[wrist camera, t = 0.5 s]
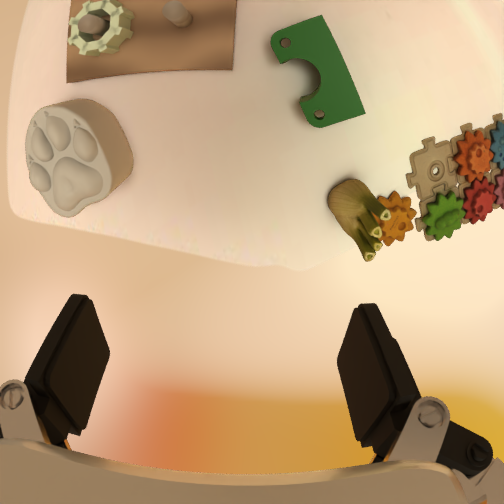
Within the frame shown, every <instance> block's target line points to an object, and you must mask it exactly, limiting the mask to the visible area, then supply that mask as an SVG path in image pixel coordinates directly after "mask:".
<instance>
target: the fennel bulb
mask: <svg viewBox="0 0 504 504" xmlns="http://www.w3.org/2000/svg"><path fill="white" fill-rule="evenodd" d="M328 206H329V208H330V210H331V211H332V213H333V214H334V215H335V217H336V219H337V221H338V223H339V224H340V225H341V227H342V228H343V230H344V231H345V232H346V233H347V234H348V235H349V236H350V237H351V238H353V239H354V241H355V242H356V244H357V245H358V247H359V249H360V251H361V253H362V256H363V258H364V260H365V261H367V262H368V261H371V260H373V258H374V256H375V255H376V252H375V251H379V250H380V248H381V247H382V246H383V244H382V243H381V242H380V240H379V239H378V238H381V236H382V231H381V228H380V226H379V224H378V222H377V221H376V219H375V217H374V216H373V214H372V212H373V213H374V214H375V215H376V216H377V217H378V218H379V219H381V220H385V221H386V220H387V221H389V219H391V213H390V211H389V209H387V208H386V207H385V206H384V205H383V204H382V203H381V202H380V201H378V200H377V199H376V198H375V196H374V195H373V194H372V193H371V192H370V190H369V189H368V187H367V186H366V185H365V184H364V183H363V182H361V181H360V180H357V179H355V180H347V181H345V182H344V183H341V184H340V185H338V186H336V187H335V188H334V189H333V190H332V191H331V192H330V195H329V198H328Z"/></svg>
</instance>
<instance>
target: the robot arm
mask: <svg viewBox="0 0 504 504" xmlns="http://www.w3.org/2000/svg"><path fill="white" fill-rule="evenodd" d="M109 356H110V350H109V347H108V344H107V341H106V339H105V336H104V333H103V330H102V328H101V325H100V322H99V319H98V316H97V313H96V310H95V307H94V304H93V301H92V300H90V299H89V298H88V296H87V295H80V294H72V295H71V296H70V297H69V299H68V301H67V302H66V304H65V306H64V307H63V309H62V311H61V312H60V314H59V316H58V317H57V319H56V321H55V322H54V324H53V326H52V328H51V330H50V331H49V333H48V335H47V337H46V338H45V340H44V342H43V344H42V346H41V347H40V349H39V351H38V353H37V355H36V357H35V359H34V361H33V363H32V365H31V367H30V369H29V371H28V373H27V375H26V377H25V380H24V382H21V381H19V380H9V381H7V382H5V383H4V384H2V385H1V387H0V504H504V463H503V462H502V461H501V460H500V459H499V458H496V459H494V458H493V450H492V447H491V445H490V443H489V442H488V441H487V440H486V439H485V438H483V437H481V436H479V435H477V434H475V433H473V432H472V431H470V430H468V429H465V428H464V427H462V426H460V425H458V424H456V423H454V422H452V421H450V413H449V410H448V408H447V406H446V405H445V404H444V403H443V402H442V401H441V400H439V399H438V398H435V397H427V396H426V397H423V398H422V397H421V395H420V393H419V391H418V388H417V386H416V383H415V381H414V378H413V376H412V374H411V371H410V369H409V367H408V364H407V362H406V360H405V358H404V355H403V353H402V351H401V349H400V347H399V344H398V342H397V341H396V339H394V338H392V336H391V333H390V331H389V329H388V327H387V325H386V323H385V321H384V319H383V317H382V315H381V312H380V310H379V308H378V306H377V305H376V304H375V303H369V304H360V305H359V306H358V308H355V309H354V311H353V313H352V316H351V319H350V323H349V325H348V328H347V331H346V334H345V337H344V340H343V343H342V346H341V349H340V351H339V355H338V358H337V366H338V370H339V374H340V377H341V381H342V385H343V389H344V393H345V397H346V401H347V405H348V409H349V413H350V417H351V421H352V425H353V430H354V433H355V438H356V440H357V441H360V442H361V446H362V448H363V447H369V446H372V447H373V451H374V453H375V454H374V456H373V458H372V460H371V461H370V463H369V464H366V465H359V466H353V467H346V468H338V469H330V470H320V471H311V472H299V473H285V474H248V475H247V474H246V475H245V474H212V473H198V472H186V471H176V470H168V469H160V468H153V467H146V466H140V465H134V464H129V463H123V462H118V461H113V460H109V459H104V458H100V457H96V456H92V455H88V454H84V453H80V452H76V451H72V450H71V448H70V445H69V443H68V441H67V436H68V433H71V434H74V435H78V436H80V435H81V431H82V430H84V429H85V428H86V426H87V423H88V419H89V416H90V413H91V410H92V407H93V404H94V400H95V398H96V394H97V391H98V388H99V385H100V383H101V380H102V377H103V374H104V371H105V368H106V365H107V363H108V360H109Z"/></svg>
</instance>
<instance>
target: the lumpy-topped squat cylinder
mask: <svg viewBox="0 0 504 504" xmlns="http://www.w3.org/2000/svg"><path fill="white" fill-rule="evenodd" d="M25 150H26V162H27V167H28V169H29V178H30V182H31V184H32V186H33V187H34V188H35V189H36V190H38V191H39V192H40V194H41V195H42V196H43V198H44V200H45V201H46V203H47V204H48V206H49V207H50V208H51V209H52V210H53V211H54V212H55V213H56V214H58V215H60V216H63V217H68V218H69V217H74V216H76V215H77V214H78V213H80V212H81V211H82V210H83V209H84V208H85V207H86V206H88V205H90V204H93V203H96V202H99V201H101V200H103V199H105V198H106V197H107V196H108V195H109V194H110V193H111V192H112V191H113V190H114V189H115V188H117V187H118V186H119V185H120V184H121V183H122V182H123V181H124V180H125V179H126V178H127V177H128V176H129V175H130V173H131V171H132V168H133V154H132V151H131V148H130V146H129V143H128V141H127V138H126V136H125V134H124V132H123V130H122V128H121V126H120V124H119V122H118V121H117V119H116V117H115V116H114V115H113V113H112V112H111V111H109V110H108V109H107V108H105V107H104V106H102V105H100V104H99V103H97V102H95V101H92V100H88V99H75V100H70V101H66V102H61V103H57V104H53V105H49V106H46V107H43V108H41V109H40V110H39V111H37V112H36V113H35V115H34V116H33V118H32V119H31V122H30V124H29V127H28V130H27V134H26V142H25Z"/></svg>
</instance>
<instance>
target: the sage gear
mask: <svg viewBox="0 0 504 504" xmlns="http://www.w3.org/2000/svg"><path fill="white" fill-rule="evenodd" d="M82 5H83V9H82V10H81V11H80V12H79V13H78V14H77V16H76V17H75V18H74V17H71V19H70V22H69V25H72V26H71V37H69V38H68V39H67V40H68V43H69V45H72V46H77V47H78V48H79V49H80V51H79V54H82V55H89V56H99V55H100V53H109V54H114V53H116V52H118V51H119V46H120V45H121V43H122V42H123V41H124V40H125V39H126V38H130V39H131V37H132V35H133V31H130V25H131V19H133V18H135V17H134V14H133V12H132V11H130V10H128V9H126V8H124V7H122V5H123V4H122V3H120V2H118V1H116V0H102V1H98V2H93V1H90V0H89V1H87V2H85V3H84V4H82ZM87 14H91V15H94V16H97V17H99V18H101V17H102V16H105V15H111V17H110V29H109V30H108V31H107V32H106V33H105V34H104V35H103V37H102V38H101V39H100V40H97V41H96V40H94V39H93V34H90V33H85V32H81V31H79V29H78V22H79V20H80V19H81V17H83V16H84V15H87Z"/></svg>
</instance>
